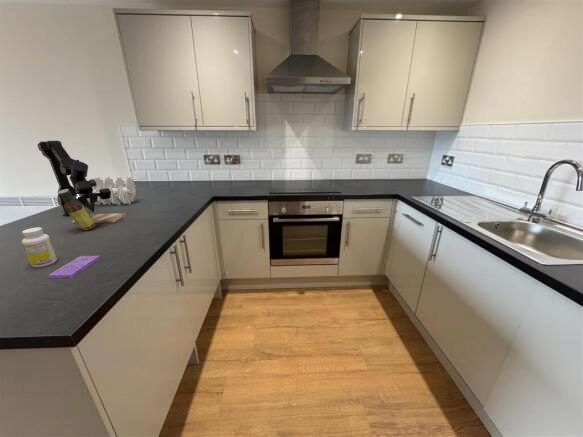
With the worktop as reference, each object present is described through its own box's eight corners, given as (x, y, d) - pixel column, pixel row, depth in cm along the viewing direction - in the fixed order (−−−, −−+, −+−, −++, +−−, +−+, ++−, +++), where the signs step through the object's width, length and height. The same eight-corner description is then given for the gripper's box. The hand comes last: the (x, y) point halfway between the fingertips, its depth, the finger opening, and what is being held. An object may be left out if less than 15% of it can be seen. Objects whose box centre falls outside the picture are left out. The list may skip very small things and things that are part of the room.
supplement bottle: (43, 258, 88) (30, 226, 84) (62, 258, 89) (51, 225, 84) (25, 268, 82) (11, 233, 77) (46, 267, 82) (33, 233, 78)
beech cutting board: (72, 223, 122) (71, 220, 122) (87, 216, 133) (87, 213, 132) (113, 222, 124) (113, 220, 124) (125, 215, 134) (125, 213, 134)
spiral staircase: (100, 208, 158) (141, 205, 162) (80, 204, 141) (126, 201, 144) (99, 181, 160) (139, 179, 163) (79, 174, 143) (125, 171, 146)
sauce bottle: (99, 224, 117) (76, 188, 105) (87, 232, 112) (62, 195, 100) (89, 222, 118) (66, 186, 107) (77, 230, 114) (51, 193, 102)
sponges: (100, 260, 89) (99, 255, 88) (72, 279, 77) (70, 274, 76) (81, 260, 89) (80, 255, 88) (49, 279, 77) (47, 274, 76)
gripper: (52, 176, 103) (65, 206, 100) (104, 171, 116) (117, 197, 114) (55, 191, 110) (67, 219, 107) (104, 185, 124) (116, 210, 121)
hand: (93, 211), depth 112 cm, fingers closed
